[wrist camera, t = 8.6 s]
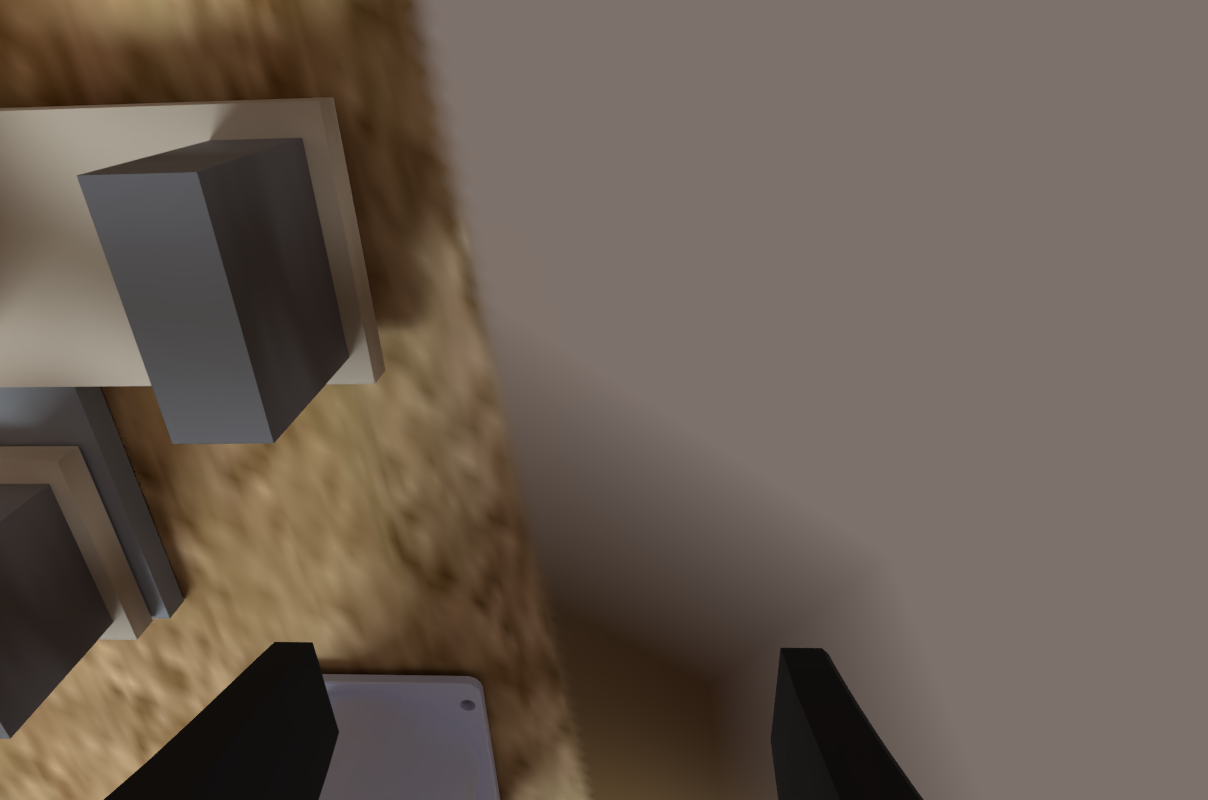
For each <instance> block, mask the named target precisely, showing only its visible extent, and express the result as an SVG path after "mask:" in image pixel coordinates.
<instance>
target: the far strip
mask: <svg viewBox="0 0 1208 800" xmlns="http://www.w3.org/2000/svg"><path fill="white" fill-rule="evenodd" d="M152 621H153V620H152V618H151V615H150V613H149V611H148V608H147V606H146V604H145V601H144V599H143V597H142V594H141V592H140V590H139V587H138V585H137V583H136V580H135V578H134V576H133V573H132V571H131V568H130V566H129V564H128V561H127V559H126V557H125V554H124V552H123V550H122V547H121V545H120V543H119V540H118V538H117V536H116V533H115V531H114V529H113V526H112V524H111V522H110V519H109V517H108V515H107V512H106V510H105V508H104V505H103V503H102V501H101V498H100V496H99V494H98V491H97V489H96V487H95V484H94V482H93V480H92V477H91V475H90V473H89V470H88V468H87V466H86V463H85V461H84V459H83V456H82V454H81V452H80V449H79V447H78V446H0V738H5V739H10V738H11V737H12V736H13V735H14V734H15V733H16V732H17V730H18V729H19V728H20V727H21V726H22V725H23V724H24V723H25V721H26V720H27V719H28V718H29V717H30V716H31V715H32V714H33V712H34V711H35V710H36V709H37V708H38V707H39V706H40V705H41V703H42V702H43V701H44V700H45V699H46V698H47V697H48V696H49V694H50V693H51V692H52V691H53V690H54V689H55V688H56V686H57V685H58V684H59V683H60V682H61V681H62V680H63V679H64V677H65V676H66V675H67V674H68V673H69V672H70V671H71V670H72V668H73V667H74V666H75V665H76V664H77V663H78V662H79V661H80V659H81V658H82V657H83V656H84V655H85V654H86V653H87V652H88V650H89V649H90V648H91V647H92V646H93V645H94V644H95V643H96V641H97V640H98V639H121V640H137V639H138V638H139V637H140V635H141V634H142V633H143V632H144V631H145V629H146V628H147V627H148V626H149V624H150V623H151V622H152Z"/></svg>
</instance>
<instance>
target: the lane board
mask: <svg viewBox="0 0 1208 800" xmlns="http://www.w3.org/2000/svg"><path fill="white" fill-rule="evenodd" d="M0 446H78V447H79V449H80V452H81V454H82V456H83V459H84V461H85V463H86V466H87V468H88V470H89V473H90V475H91V477H92V480H93V482H94V484H95V487H96V489H97V491H98V494H99V496H100V498H101V501H102V503H103V505H104V508H105V510H106V512H107V515H108V517H109V519H110V522H111V524H112V526H113V529H114V531H115V533H116V536H117V538H118V540H119V543H120V545H121V547H122V550H123V552H124V554H125V557H126V559H127V561H128V564H129V566H130V568H131V571H132V573H133V576H134V578H135V580H136V583H137V585H138V587H139V590H140V592H141V594H142V597H143V599H144V601H145V604H146V606H147V608H148V611H149V613H150V615H151V618H171V616H172V615H173V614H174V613H175V611H176V610H177V609H178V608H179V606H180V605H181V604H182V603H183V601H184V599H183V596H182V594H181V591H180V589H179V586H178V584H177V581H176V579H175V576H174V574H173V571H172V568H171V566H170V563H169V561H168V558H167V556H166V553H165V551H164V548H163V546H162V543H161V541H160V538H159V535H158V533H157V530H156V528H155V525H154V523H153V520H152V518H151V515H150V513H149V510H148V508H147V505H146V502H145V500H144V497H143V495H142V492H141V490H140V487H139V485H138V482H137V480H136V477H135V475H134V472H133V470H132V467H131V464H130V462H129V459H128V457H127V454H126V452H125V449H124V447H123V444H122V442H121V439H120V437H119V434H118V431H117V429H116V426H115V424H114V421H113V419H112V416H111V414H110V411H109V409H108V406H107V404H106V401H105V398H104V396H103V393H102V391H101V388H100V387H0Z"/></svg>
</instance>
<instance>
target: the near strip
mask: <svg viewBox="0 0 1208 800" xmlns="http://www.w3.org/2000/svg"><path fill="white" fill-rule="evenodd" d="M384 371H385V366H384V361H383V355H382V350H381V345H380V340H379V334H378V329H377V324H376V318H375V313H374V308H373V303H372V297H371V292H370V287H369V282H368V276H367V271H366V266H365V261H364V255H363V250H362V245H361V239H360V234H359V229H358V224H357V218H356V213H355V208H354V203H353V197H352V192H351V187H350V182H349V176H348V171H347V166H346V160H345V155H344V150H343V145H342V139H341V134H340V129H339V124H338V118H337V113H336V108H335V103H334V97H325V98H294V99H264V100H233V101H203V102H173V103H142V104H112V105H82V106H51V107H21V108H0V387H100V386H152V388H153V391H154V394H155V397H156V399H157V402H158V405H159V408H160V411H161V413H162V416H163V419H164V422H165V425H166V427H167V430H168V433H169V436H170V439H171V441H172V444H245V443H274V442H275V441H276V440H277V439H278V438H279V437H280V436H281V434H282V433H283V432H284V431H285V430H286V429H287V428H288V427H289V425H290V424H291V423H292V422H293V421H294V420H295V419H296V417H297V416H298V415H299V414H300V413H301V412H302V411H303V410H304V408H305V407H306V406H307V405H308V404H309V403H310V402H311V400H312V399H313V398H314V397H315V396H316V395H317V394H318V393H319V391H320V390H321V389H322V388H323V387H324V386H325V385H326V384H375V383H376V382H377V380H378V379H379V378H380V376H381V375H382V374H383V372H384Z"/></svg>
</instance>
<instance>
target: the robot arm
mask: <svg viewBox="0 0 1208 800" xmlns="http://www.w3.org/2000/svg"><path fill="white" fill-rule="evenodd" d="M467 700H469V701H467ZM771 746H772V754H773V762H774V770H775V778H776V785H777V793H778V800H923V798H922V797H921V796H920V794H919V793H918V792H917V790H916V789H915V787H914V786H913V785H912V784H911V782H910V780H909V779H908V778H907V776H906V775H905V773H904V772H903V770H902V769H901V768H900V766H899V765H898V763H897V762H896V761H895V759H894V758H893V756H892V755H891V754H890V752H889V751H888V749H887V748H886V746H885V745H884V743H883V742H882V740H881V739H880V737H879V736H878V734H877V733H876V731H875V730H874V728H873V727H872V725H871V724H870V722H869V721H868V719H867V717H866V716H865V714H864V713H863V711H862V710H861V708H860V707H859V705H858V704H857V702H856V700H855V699H854V697H853V695H852V694H851V692H850V690H849V689H848V687H847V686H846V684H845V682H844V681H843V679H842V677H841V676H840V674H839V672H838V670H837V669H836V667H835V665H834V664H833V662H832V660H831V658H830V656H829V654H828V653H827V652H825V651H824V650H823V649H822V648H781V649H780V659H779V668H778V677H777V687H776V697H775V706H774V716H773V724H772V733H771ZM104 800H500V794H499V788H498V781H497V775H496V768H495V762H494V756H493V749H492V743H491V736H490V730H489V724H488V717H487V711H486V704H485V698H484V692H483V686H482V684H481V682H480V681H478V680H477V679H476V678H474V677H470V676H433V675H361V674H322V672H321V669H320V666H319V662H318V659H317V656H316V652H315V649H314V646H313V643H310V642H274V643H273V644H272V645H271V646H270V647H269V648H268V649H267V650H266V651H265V652H263V653H262V654H261V655H260V656H259V657H258V658H257V659H256V660H255V661H254V662H253V663H252V664H251V665H250V666H249V667H248V668H247V669H246V670H244V671H243V672H242V673H241V674H240V675H239V676H238V677H237V678H236V679H235V680H234V681H233V682H232V683H231V684H230V685H229V686H228V687H227V688H226V689H225V690H223V691H222V692H221V693H220V694H219V695H218V696H217V697H216V698H215V699H214V700H213V701H212V702H211V703H210V704H209V705H208V706H207V707H206V708H205V709H203V710H202V711H201V712H200V713H199V714H198V715H197V716H196V717H195V718H194V719H193V720H192V721H191V722H190V723H189V724H188V725H187V726H185V727H184V728H183V729H182V730H181V731H180V732H179V733H178V734H177V735H176V736H175V737H174V738H172V739H171V740H170V741H169V742H168V743H167V744H166V745H165V746H164V747H163V748H162V749H161V750H159V751H158V752H157V753H156V754H155V755H154V756H153V757H152V758H151V759H150V760H149V761H148V762H147V763H145V764H144V765H143V766H142V767H141V768H140V769H139V770H137V771H136V772H135V773H134V774H133V775H132V776H130V777H129V778H128V779H127V780H126V781H125V782H124V783H122V784H121V785H120V786H119V787H118V788H117V789H116V790H114V791H113V792H112V793H111V794H110V795H109V796H107V797H106V798H105V799H104Z"/></svg>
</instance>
